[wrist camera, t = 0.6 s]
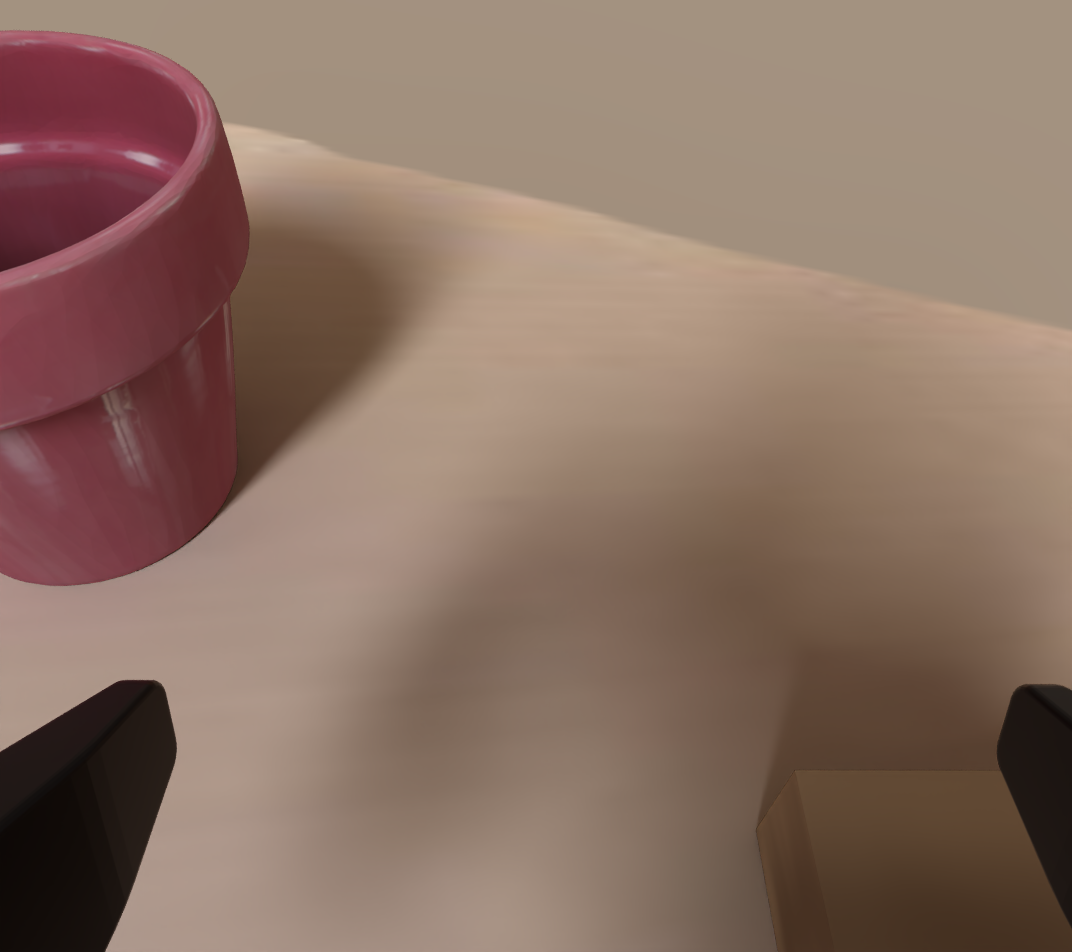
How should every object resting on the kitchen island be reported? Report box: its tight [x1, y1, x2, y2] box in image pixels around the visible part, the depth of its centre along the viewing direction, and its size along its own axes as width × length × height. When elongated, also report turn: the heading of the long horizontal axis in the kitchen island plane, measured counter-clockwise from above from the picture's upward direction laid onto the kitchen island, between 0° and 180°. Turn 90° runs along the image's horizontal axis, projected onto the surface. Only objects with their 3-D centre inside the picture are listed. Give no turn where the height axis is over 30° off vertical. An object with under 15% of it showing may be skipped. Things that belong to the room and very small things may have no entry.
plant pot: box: [0, 30, 249, 586], centre depth 24 cm, size 14×14×13 cm
